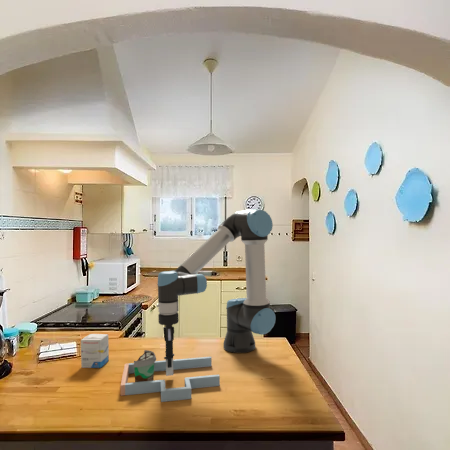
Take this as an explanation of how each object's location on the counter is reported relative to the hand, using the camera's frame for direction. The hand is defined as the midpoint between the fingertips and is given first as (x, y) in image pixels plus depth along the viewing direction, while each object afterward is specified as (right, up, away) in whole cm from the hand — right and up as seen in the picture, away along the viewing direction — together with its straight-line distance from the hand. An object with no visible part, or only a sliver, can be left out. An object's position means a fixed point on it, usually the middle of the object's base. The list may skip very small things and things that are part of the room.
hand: (169, 374), depth 137 cm
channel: (+1, -2, -4) cm, 4 cm away
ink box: (-34, -2, +15) cm, 37 cm away
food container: (-8, -2, -3) cm, 8 cm away
